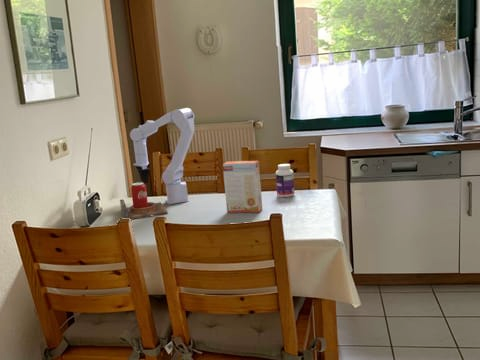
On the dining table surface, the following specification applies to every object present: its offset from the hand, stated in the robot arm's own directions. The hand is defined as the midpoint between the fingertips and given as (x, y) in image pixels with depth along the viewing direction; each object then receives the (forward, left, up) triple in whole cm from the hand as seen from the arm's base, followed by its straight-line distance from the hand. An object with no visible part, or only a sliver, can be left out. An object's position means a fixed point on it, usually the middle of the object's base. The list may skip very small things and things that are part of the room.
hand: (144, 181), depth 240 cm
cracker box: (-35, +44, -10) cm, 57 cm away
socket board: (+4, +20, -9) cm, 22 cm away
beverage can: (+5, +20, -9) cm, 22 cm away
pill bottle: (-59, +31, -10) cm, 67 cm away
